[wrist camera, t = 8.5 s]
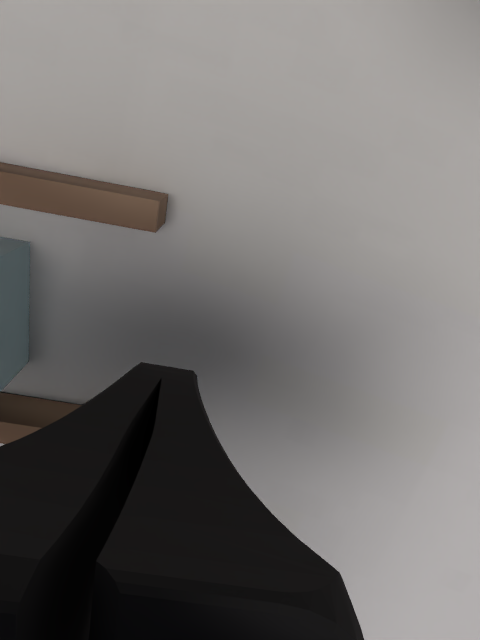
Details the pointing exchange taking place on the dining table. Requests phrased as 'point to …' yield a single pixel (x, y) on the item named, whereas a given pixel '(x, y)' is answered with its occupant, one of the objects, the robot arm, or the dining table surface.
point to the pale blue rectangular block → (14, 307)
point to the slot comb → (79, 202)
